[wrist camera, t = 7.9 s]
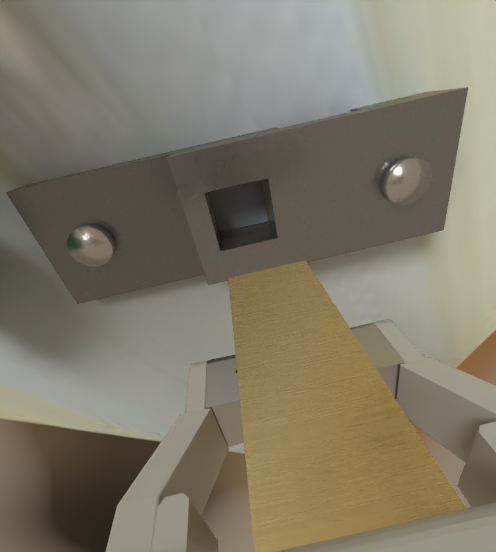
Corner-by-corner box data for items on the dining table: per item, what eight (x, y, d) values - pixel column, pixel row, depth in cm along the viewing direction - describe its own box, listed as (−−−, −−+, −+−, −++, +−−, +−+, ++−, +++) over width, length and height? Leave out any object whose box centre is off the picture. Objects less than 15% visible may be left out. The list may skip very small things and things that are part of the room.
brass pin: (244, 335, 12) (286, 628, 5) (228, 277, 11) (257, 581, 4) (312, 320, 12) (445, 593, 5) (305, 260, 11) (480, 531, 4)
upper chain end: (208, 263, 27) (208, 291, 22) (174, 151, 22) (164, 159, 17) (413, 215, 27) (452, 234, 22) (426, 92, 21) (480, 86, 17)
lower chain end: (86, 291, 27) (72, 310, 24) (22, 186, 22) (-4, 195, 19) (290, 243, 27) (299, 257, 24) (275, 127, 22) (283, 129, 19)
